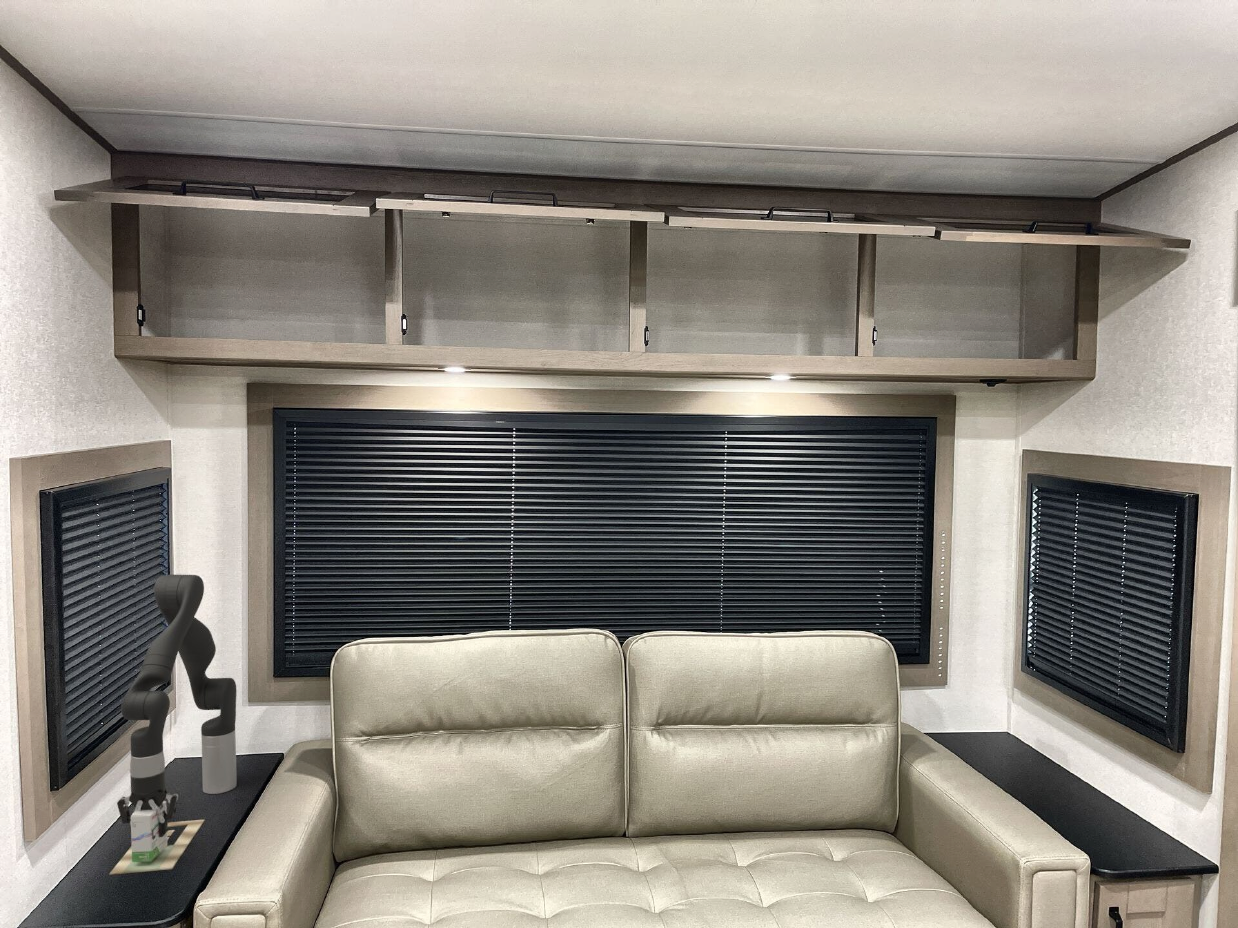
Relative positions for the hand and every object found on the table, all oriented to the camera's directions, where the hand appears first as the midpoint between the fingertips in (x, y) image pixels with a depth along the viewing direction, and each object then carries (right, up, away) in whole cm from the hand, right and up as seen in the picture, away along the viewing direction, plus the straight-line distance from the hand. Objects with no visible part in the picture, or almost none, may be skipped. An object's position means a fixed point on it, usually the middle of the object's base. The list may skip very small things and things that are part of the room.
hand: (149, 836), depth 210 cm
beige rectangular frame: (-1, -6, +6) cm, 8 cm away
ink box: (0, -5, 0) cm, 5 cm away
